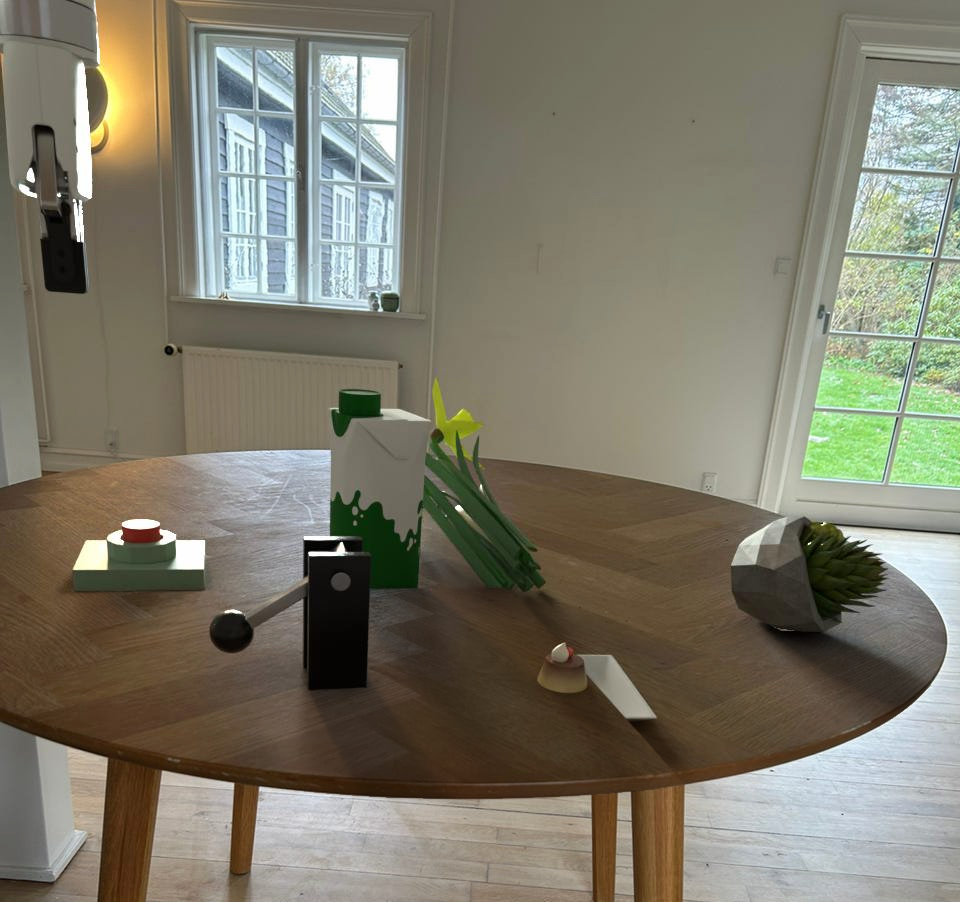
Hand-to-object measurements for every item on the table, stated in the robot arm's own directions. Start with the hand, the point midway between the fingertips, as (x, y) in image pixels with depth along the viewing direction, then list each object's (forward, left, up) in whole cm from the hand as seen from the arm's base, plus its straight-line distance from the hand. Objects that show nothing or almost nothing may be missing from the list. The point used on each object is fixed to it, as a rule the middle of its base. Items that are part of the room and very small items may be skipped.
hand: (67, 291), depth 74 cm
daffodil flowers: (+40, +13, -27) cm, 50 cm away
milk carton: (+27, +1, -27) cm, 38 cm away
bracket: (+20, -23, -27) cm, 41 cm away
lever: (+17, -23, -21) cm, 35 cm away
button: (+4, +6, -23) cm, 24 cm away
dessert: (+38, -26, -27) cm, 54 cm away
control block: (+4, +6, -27) cm, 28 cm away
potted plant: (+69, -13, -27) cm, 75 cm away
